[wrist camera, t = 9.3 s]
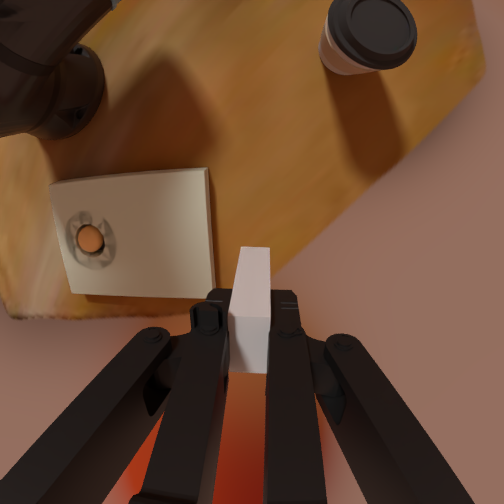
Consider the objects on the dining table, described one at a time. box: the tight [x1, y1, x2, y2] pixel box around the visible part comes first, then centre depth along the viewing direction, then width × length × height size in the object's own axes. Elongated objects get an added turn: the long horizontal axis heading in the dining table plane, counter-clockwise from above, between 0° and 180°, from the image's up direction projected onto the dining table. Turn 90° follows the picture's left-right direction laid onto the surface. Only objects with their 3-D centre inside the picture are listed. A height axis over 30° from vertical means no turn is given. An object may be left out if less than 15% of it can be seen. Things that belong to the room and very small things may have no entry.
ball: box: [78, 225, 103, 252], centre depth 44 cm, size 4×4×4 cm
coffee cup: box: [318, 0, 417, 75], centre depth 28 cm, size 9×9×15 cm
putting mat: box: [49, 167, 216, 298], centre depth 44 cm, size 18×24×3 cm
